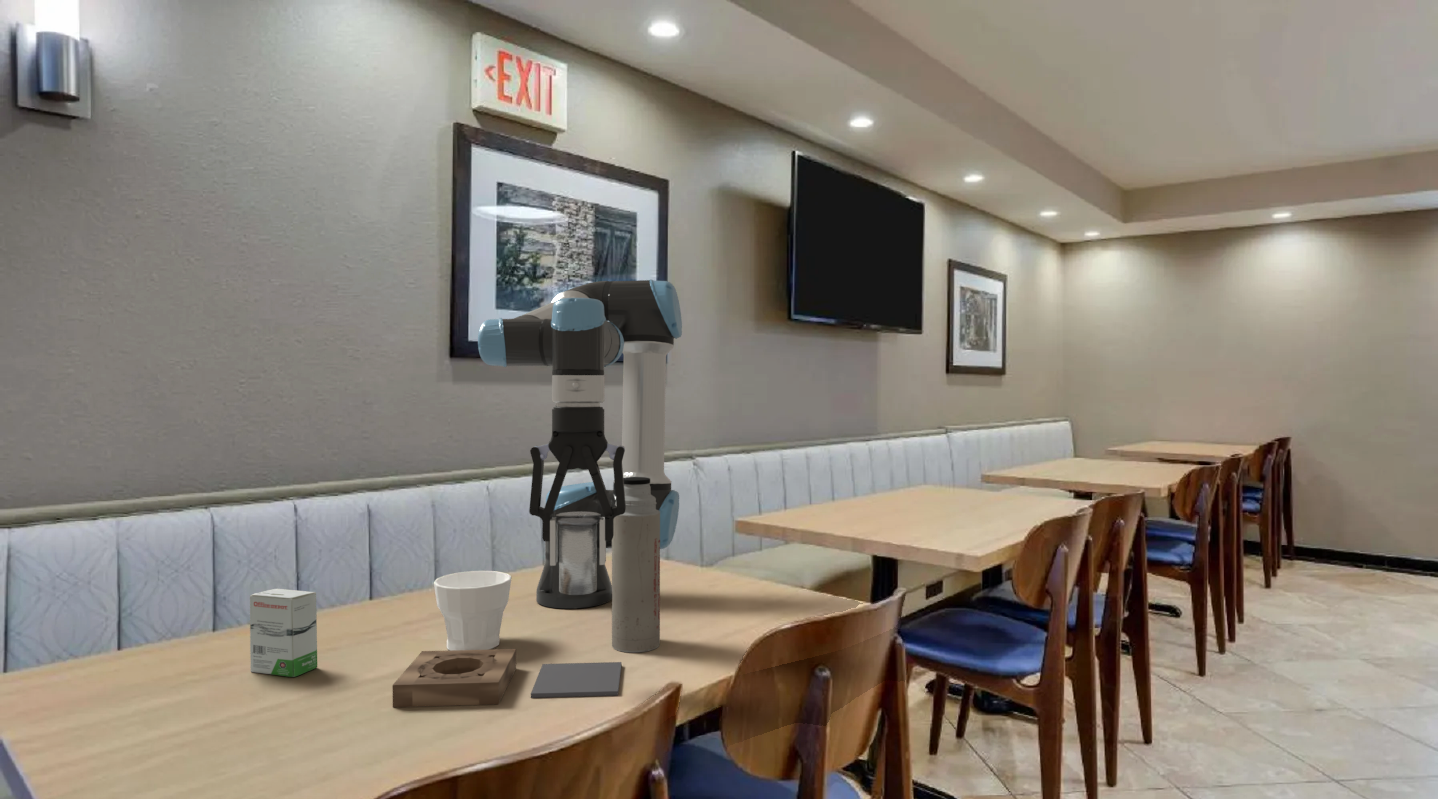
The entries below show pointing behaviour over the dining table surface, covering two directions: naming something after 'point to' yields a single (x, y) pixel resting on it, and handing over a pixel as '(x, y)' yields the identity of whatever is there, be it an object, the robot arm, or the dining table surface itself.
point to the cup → (473, 607)
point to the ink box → (283, 632)
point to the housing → (455, 678)
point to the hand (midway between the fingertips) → (578, 562)
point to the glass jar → (577, 552)
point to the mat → (577, 680)
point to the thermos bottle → (636, 570)
